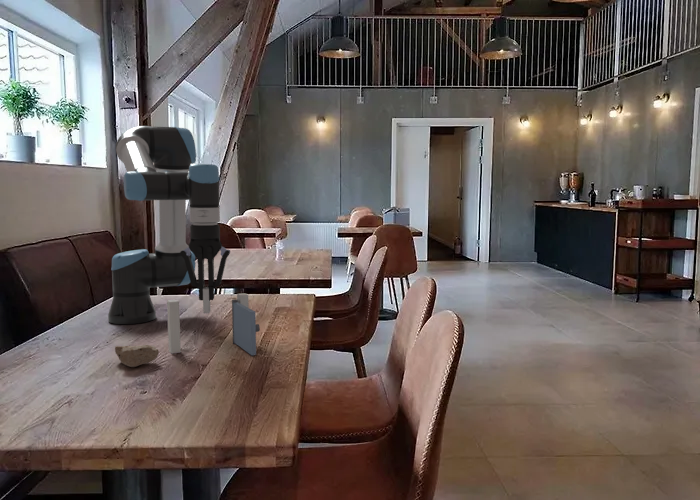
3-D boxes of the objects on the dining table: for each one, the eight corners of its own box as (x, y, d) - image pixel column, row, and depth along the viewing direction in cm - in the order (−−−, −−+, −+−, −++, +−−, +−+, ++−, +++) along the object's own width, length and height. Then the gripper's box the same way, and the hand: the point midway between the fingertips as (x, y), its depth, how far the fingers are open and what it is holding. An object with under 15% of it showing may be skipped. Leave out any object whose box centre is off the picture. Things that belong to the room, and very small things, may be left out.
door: (251, 357, 151) (250, 309, 150) (232, 342, 165) (231, 299, 164) (261, 355, 153) (261, 308, 152) (242, 341, 167) (241, 298, 166)
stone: (124, 371, 138) (121, 351, 138) (116, 362, 148) (112, 343, 148) (162, 361, 143) (159, 342, 142) (151, 353, 153) (148, 335, 152)
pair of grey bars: (168, 351, 157) (166, 300, 156) (245, 340, 168) (244, 293, 167) (171, 353, 154) (169, 302, 153) (249, 342, 166) (248, 294, 164)
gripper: (176, 224, 146) (179, 315, 149) (228, 224, 147) (230, 315, 150) (182, 222, 153) (184, 309, 156) (231, 222, 155) (233, 308, 158)
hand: (206, 312), depth 153 cm, fingers closed
